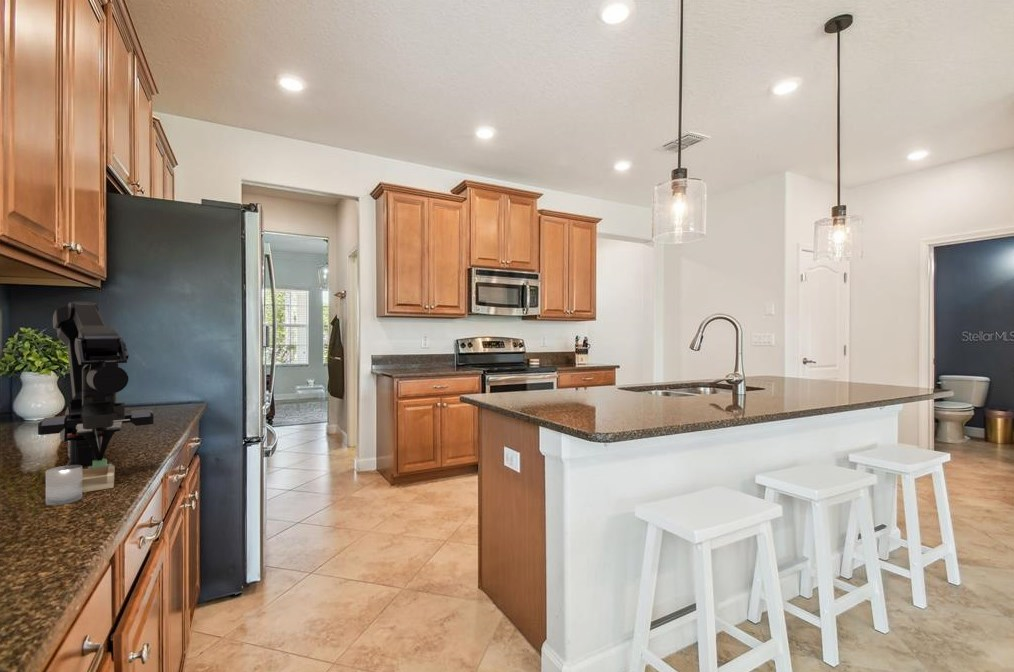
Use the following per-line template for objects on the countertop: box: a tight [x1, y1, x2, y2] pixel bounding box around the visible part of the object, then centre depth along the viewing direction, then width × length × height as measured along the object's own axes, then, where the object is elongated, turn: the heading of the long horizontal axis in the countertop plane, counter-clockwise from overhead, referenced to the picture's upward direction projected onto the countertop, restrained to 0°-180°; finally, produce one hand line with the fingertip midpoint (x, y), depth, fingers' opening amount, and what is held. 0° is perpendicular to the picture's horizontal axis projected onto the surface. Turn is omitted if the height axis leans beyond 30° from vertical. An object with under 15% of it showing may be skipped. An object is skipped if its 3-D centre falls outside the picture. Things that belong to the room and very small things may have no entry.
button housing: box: [87, 463, 113, 469], centre depth 102 cm, size 4×4×2 cm
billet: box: [45, 464, 83, 506], centre depth 87 cm, size 5×5×6 cm
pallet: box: [82, 464, 115, 493], centre depth 95 cm, size 9×9×2 cm
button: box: [92, 458, 108, 468], centre depth 102 cm, size 2×2×3 cm
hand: (99, 460), depth 102 cm, fingers closed, pressing on button
